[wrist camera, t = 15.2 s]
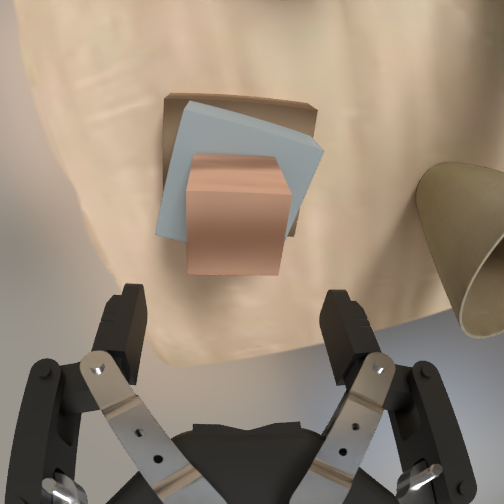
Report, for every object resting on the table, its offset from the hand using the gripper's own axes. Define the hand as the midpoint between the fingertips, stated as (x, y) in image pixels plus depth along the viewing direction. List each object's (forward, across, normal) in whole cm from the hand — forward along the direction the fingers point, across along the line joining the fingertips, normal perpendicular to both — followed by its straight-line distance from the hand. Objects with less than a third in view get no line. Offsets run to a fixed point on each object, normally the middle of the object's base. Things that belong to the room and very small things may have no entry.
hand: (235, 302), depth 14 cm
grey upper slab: (+15, 0, 0) cm, 15 cm away
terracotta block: (+11, 0, 0) cm, 11 cm away
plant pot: (+19, -24, +1) cm, 31 cm away
